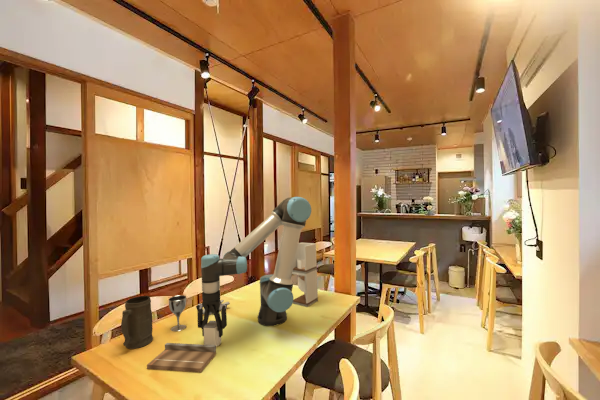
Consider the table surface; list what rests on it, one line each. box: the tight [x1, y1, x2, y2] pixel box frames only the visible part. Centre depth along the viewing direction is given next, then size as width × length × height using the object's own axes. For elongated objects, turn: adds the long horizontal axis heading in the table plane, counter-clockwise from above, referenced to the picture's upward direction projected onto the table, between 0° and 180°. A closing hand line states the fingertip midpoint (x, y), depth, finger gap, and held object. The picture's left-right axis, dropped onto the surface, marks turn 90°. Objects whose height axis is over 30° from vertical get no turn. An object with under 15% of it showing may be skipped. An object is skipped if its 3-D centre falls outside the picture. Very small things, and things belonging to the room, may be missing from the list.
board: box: [146, 342, 217, 374], centre depth 106 cm, size 22×12×4 cm, turn 81°
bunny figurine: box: [203, 299, 231, 317], centre depth 154 cm, size 10×5×15 cm
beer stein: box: [120, 295, 154, 350], centre depth 119 cm, size 15×11×20 cm
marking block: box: [203, 320, 218, 348], centre depth 118 cm, size 5×6×9 cm
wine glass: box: [168, 294, 187, 332], centre depth 134 cm, size 8×8×15 cm
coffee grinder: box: [292, 242, 319, 308], centre depth 163 cm, size 11×11×35 cm
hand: (212, 343), depth 118 cm, fingers open, 5 cm apart
